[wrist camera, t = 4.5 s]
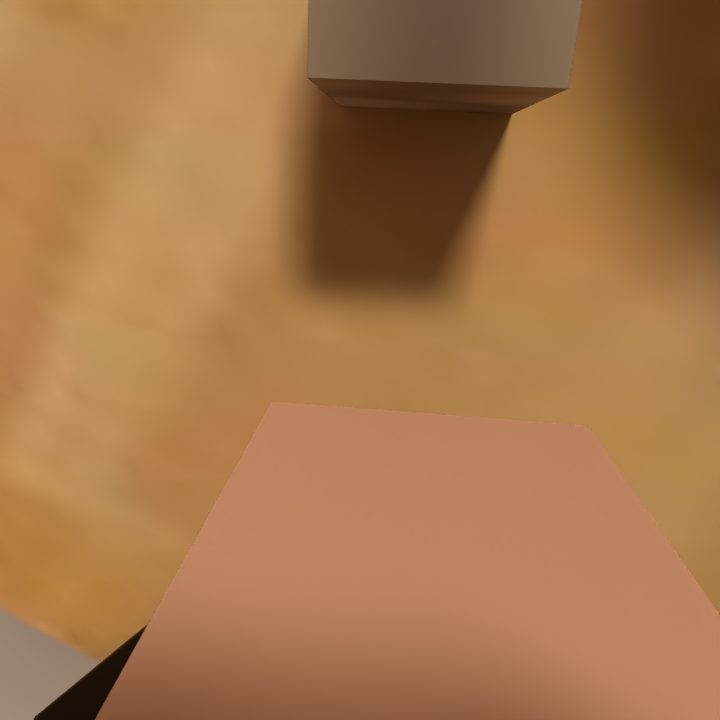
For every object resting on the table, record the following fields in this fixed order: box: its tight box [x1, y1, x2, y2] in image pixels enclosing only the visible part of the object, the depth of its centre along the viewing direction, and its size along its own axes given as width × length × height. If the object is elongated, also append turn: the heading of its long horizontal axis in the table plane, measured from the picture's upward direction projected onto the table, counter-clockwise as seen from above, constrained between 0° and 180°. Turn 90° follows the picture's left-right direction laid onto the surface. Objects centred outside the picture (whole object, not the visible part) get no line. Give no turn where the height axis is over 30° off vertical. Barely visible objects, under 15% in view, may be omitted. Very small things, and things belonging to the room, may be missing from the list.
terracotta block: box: [95, 402, 720, 720], centre depth 7 cm, size 5×5×6 cm
